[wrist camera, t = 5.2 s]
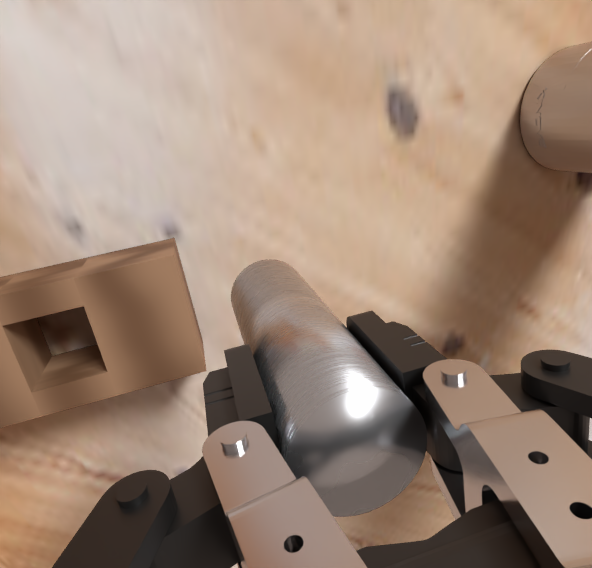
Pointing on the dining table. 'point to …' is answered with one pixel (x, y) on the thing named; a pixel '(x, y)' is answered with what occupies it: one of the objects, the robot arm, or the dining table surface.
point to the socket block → (97, 330)
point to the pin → (327, 394)
